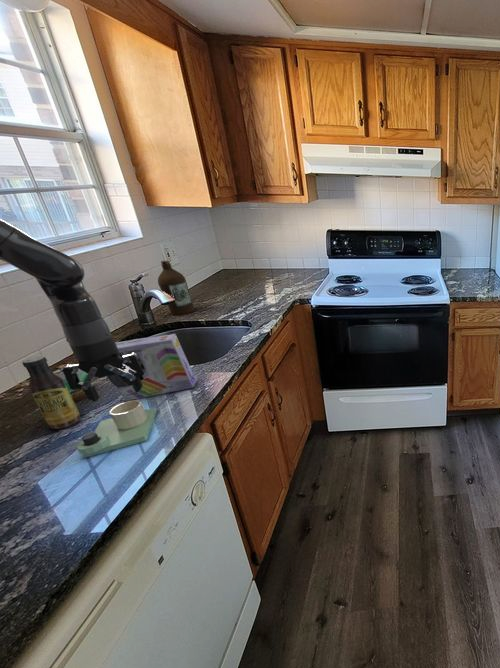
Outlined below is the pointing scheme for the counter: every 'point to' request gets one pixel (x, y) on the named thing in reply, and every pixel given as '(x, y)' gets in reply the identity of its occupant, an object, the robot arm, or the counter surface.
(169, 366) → the cake pan box
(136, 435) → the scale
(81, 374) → the food container
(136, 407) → the bowl
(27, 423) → the counter surface
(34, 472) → the counter surface
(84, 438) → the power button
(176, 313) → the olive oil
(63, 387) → the sauce bottle
